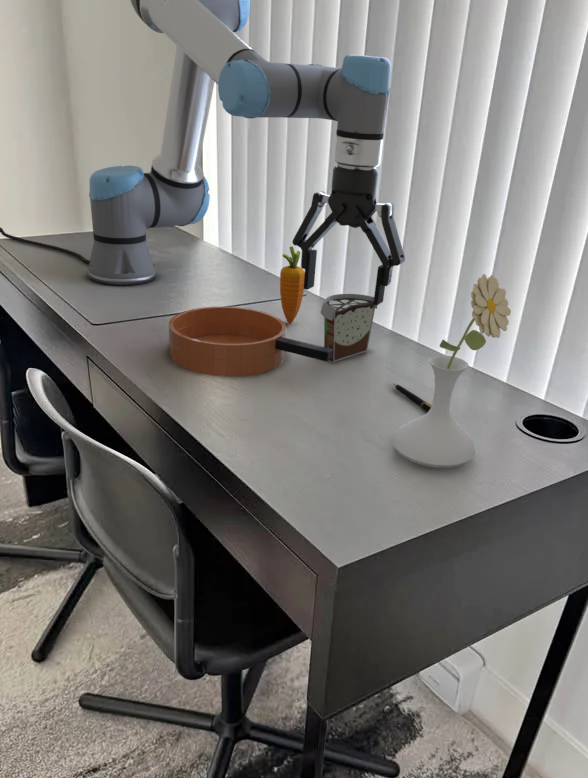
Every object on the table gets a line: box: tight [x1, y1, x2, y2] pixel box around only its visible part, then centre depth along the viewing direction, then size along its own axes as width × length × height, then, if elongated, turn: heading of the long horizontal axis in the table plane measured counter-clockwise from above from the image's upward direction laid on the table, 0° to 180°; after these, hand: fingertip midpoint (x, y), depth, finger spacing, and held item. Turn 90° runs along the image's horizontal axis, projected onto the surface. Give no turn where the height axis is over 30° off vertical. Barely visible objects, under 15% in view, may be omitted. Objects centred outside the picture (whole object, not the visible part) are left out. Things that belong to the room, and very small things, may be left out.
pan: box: [168, 306, 287, 377], centre depth 125 cm, size 20×20×6 cm
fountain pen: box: [392, 382, 432, 413], centre depth 112 cm, size 14×1×2 cm, turn 27°
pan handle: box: [275, 337, 333, 362], centre depth 118 cm, size 10×2×2 cm, turn 62°
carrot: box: [279, 245, 305, 324], centre depth 139 cm, size 5×5×15 cm
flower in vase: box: [391, 273, 512, 469], centre depth 92 cm, size 13×11×25 cm
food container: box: [320, 293, 378, 363], centre depth 128 cm, size 12×6×10 cm, turn 135°
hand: (342, 295), depth 125 cm, fingers open, 13 cm apart
